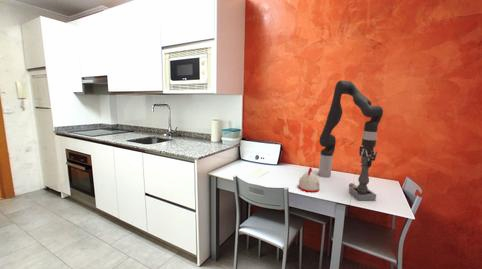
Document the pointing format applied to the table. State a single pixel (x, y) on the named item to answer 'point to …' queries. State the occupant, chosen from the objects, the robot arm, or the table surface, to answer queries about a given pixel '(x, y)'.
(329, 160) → the robot arm
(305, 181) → the beige red dome
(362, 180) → the candle holder
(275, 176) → the table surface
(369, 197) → the grey tray
